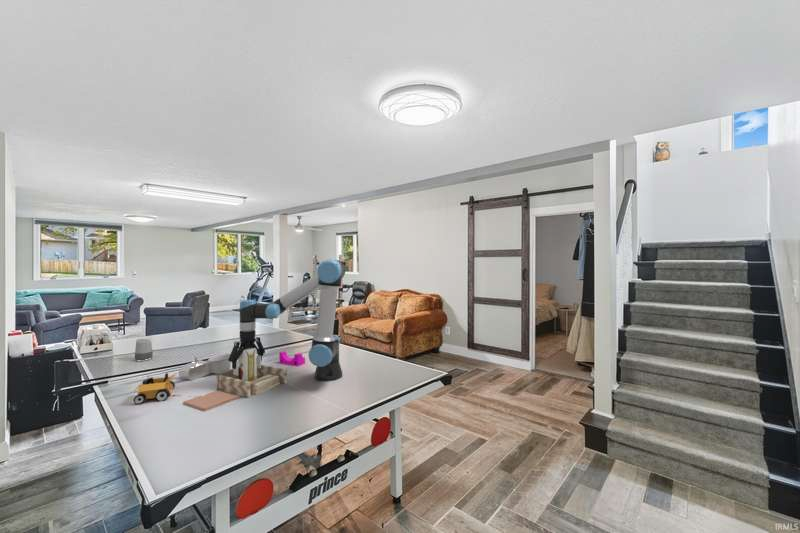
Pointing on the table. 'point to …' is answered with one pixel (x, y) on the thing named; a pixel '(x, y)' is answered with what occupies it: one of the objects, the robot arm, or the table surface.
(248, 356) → the juice carton
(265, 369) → the birch rack
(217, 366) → the teacup
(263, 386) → the offcut stack
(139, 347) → the smart speaker
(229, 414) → the table surface
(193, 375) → the vr headset
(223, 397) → the pad
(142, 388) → the yellow toy car
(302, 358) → the toy block
